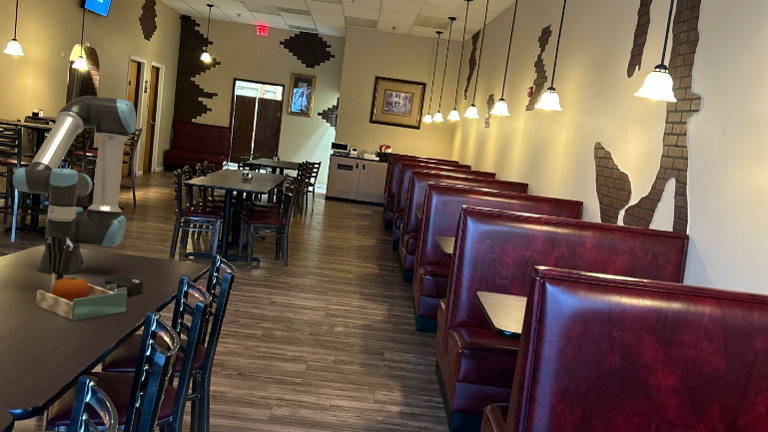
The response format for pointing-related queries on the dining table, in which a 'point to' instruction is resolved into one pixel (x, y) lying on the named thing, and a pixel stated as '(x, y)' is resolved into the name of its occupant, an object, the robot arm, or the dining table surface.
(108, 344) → the dining table surface
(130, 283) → the rock
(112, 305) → the bay
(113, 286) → the dark grey bracket
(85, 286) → the fruit
